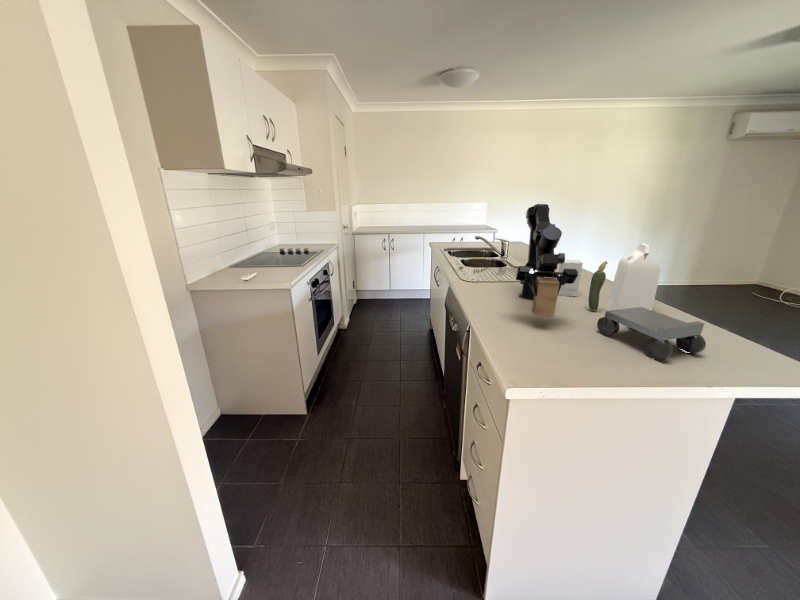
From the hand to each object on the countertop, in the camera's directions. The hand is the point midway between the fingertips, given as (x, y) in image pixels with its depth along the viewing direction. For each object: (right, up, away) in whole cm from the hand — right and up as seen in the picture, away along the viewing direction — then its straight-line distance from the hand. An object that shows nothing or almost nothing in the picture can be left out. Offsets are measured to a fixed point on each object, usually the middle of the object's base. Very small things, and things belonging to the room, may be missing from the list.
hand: (546, 296), depth 105 cm
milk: (+43, -5, +21) cm, 48 cm away
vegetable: (+27, -6, +20) cm, 34 cm away
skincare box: (+27, +1, +39) cm, 48 cm away
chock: (0, -6, +3) cm, 7 cm away
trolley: (+28, -15, -7) cm, 32 cm away
